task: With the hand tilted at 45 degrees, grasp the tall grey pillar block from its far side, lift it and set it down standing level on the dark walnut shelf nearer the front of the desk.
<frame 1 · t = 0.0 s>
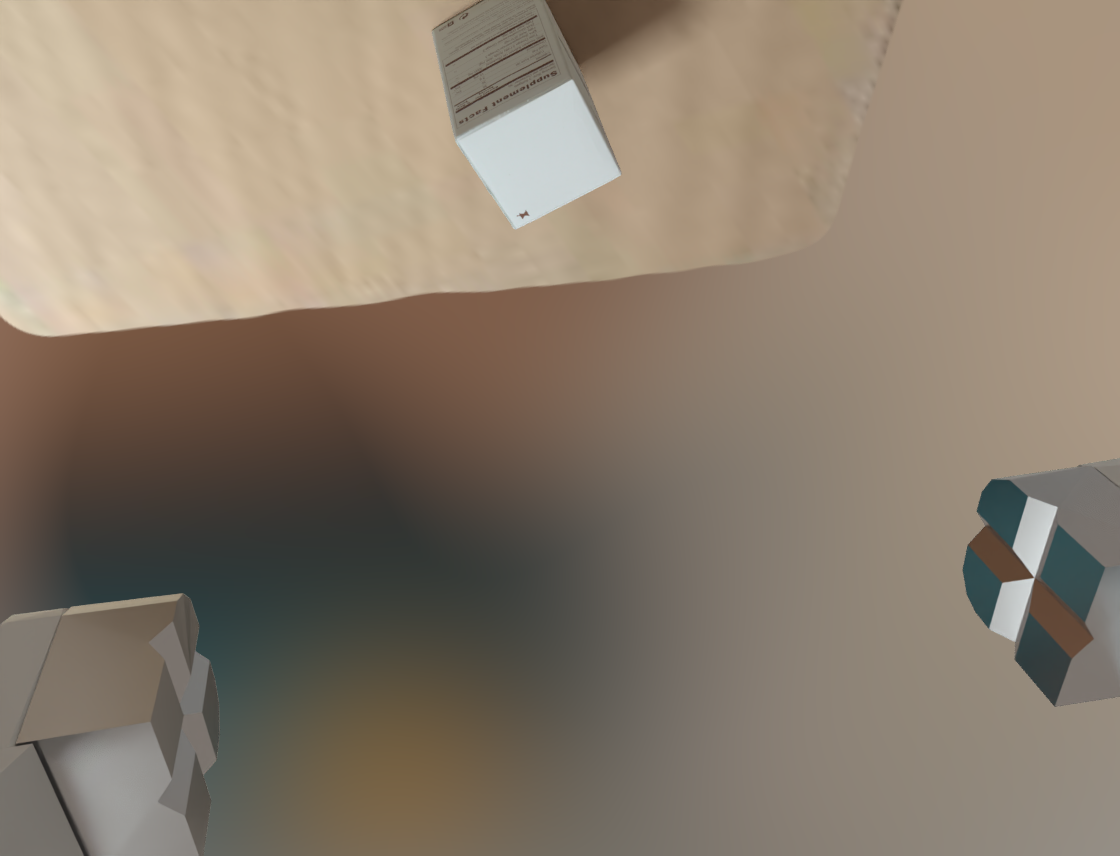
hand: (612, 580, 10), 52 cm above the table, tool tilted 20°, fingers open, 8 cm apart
supplement box: (506, 45, 60), on the table
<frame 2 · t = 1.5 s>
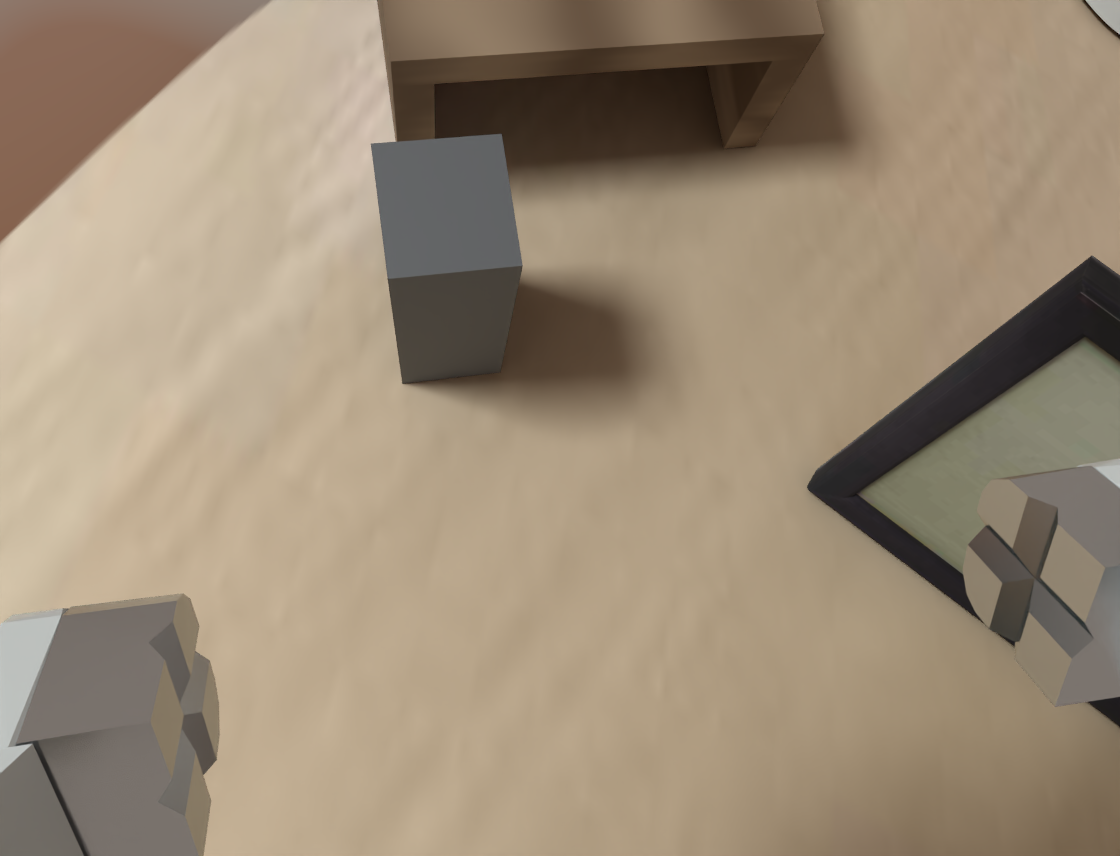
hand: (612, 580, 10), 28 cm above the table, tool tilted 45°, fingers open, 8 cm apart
tall grey pillar block: (444, 327, 39), on the table
walnut shelf: (563, 50, 43), on the table
picture frame: (1074, 576, 40), on the table
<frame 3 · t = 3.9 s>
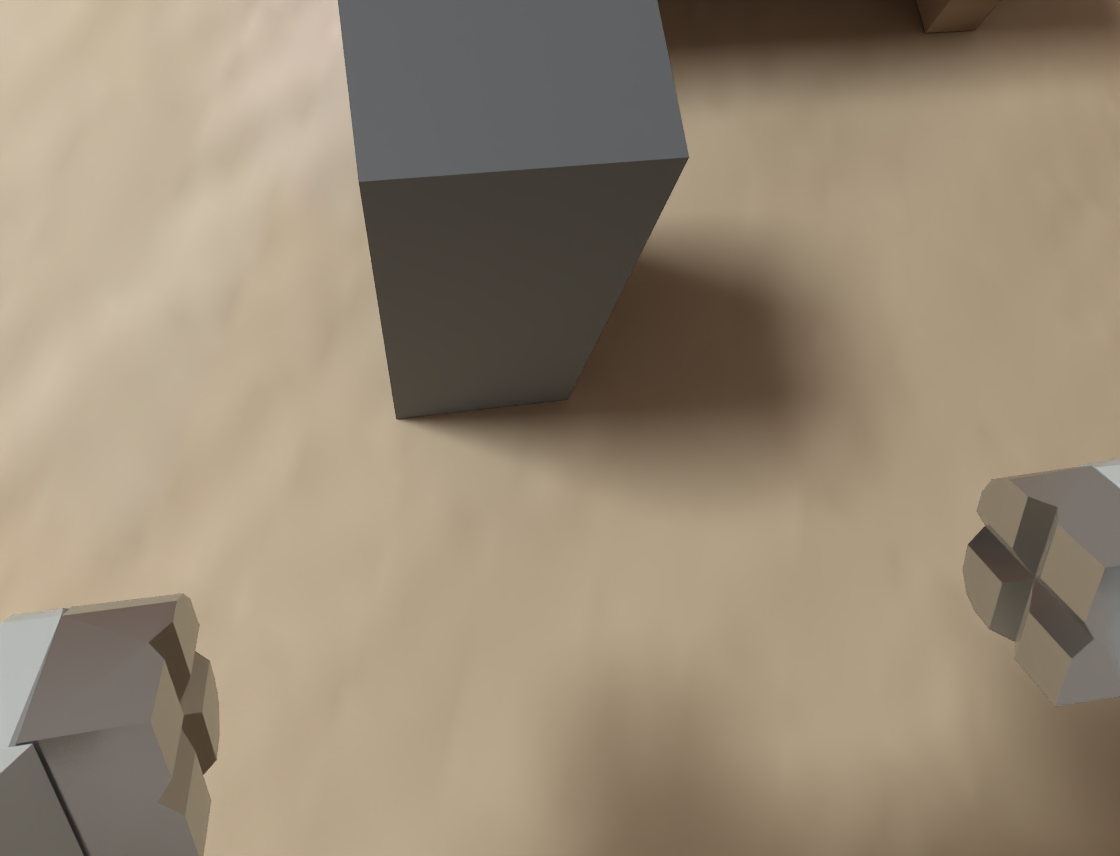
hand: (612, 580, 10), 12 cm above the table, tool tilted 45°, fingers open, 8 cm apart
tall grey pillar block: (470, 320, 22), on the table
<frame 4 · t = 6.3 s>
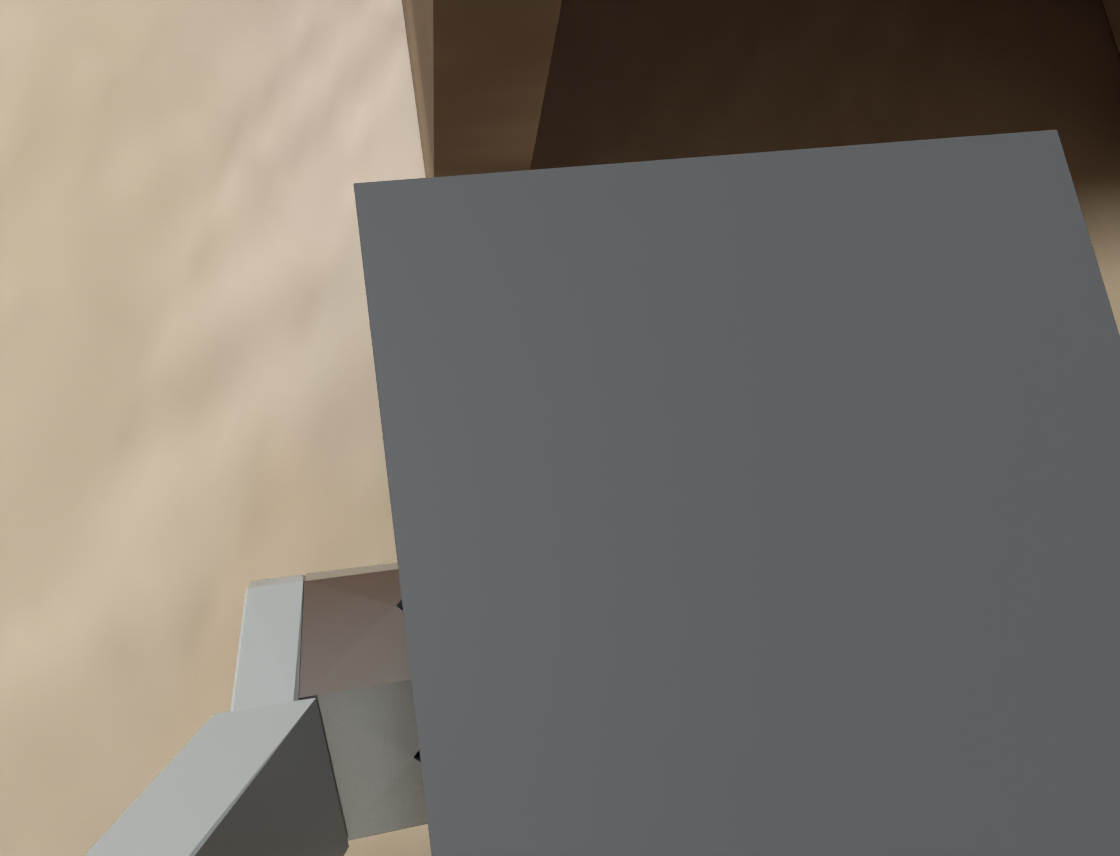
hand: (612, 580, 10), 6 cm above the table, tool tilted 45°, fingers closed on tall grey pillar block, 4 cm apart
tall grey pillar block: (550, 633, 15), on the table, touching gripper
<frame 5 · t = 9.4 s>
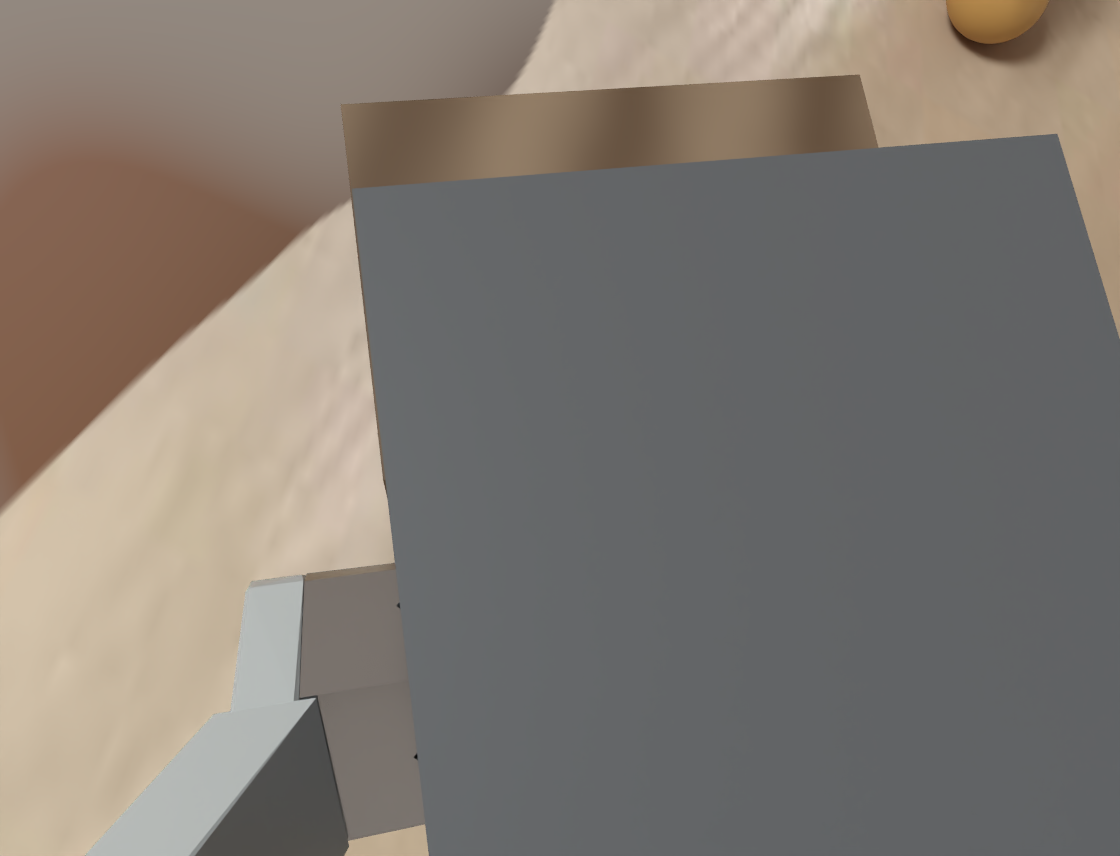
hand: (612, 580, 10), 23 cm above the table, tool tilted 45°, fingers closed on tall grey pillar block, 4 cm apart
tall grey pillar block: (549, 635, 15), point 17 cm above the table, touching gripper
walnut shelf: (596, 349, 35), on the table
figurine: (948, 16, 41), on the table
when the fingers open (15 cm above the table, at t = 12.5 s): tall grey pillar block drops 1 cm, resting on walnut shelf.
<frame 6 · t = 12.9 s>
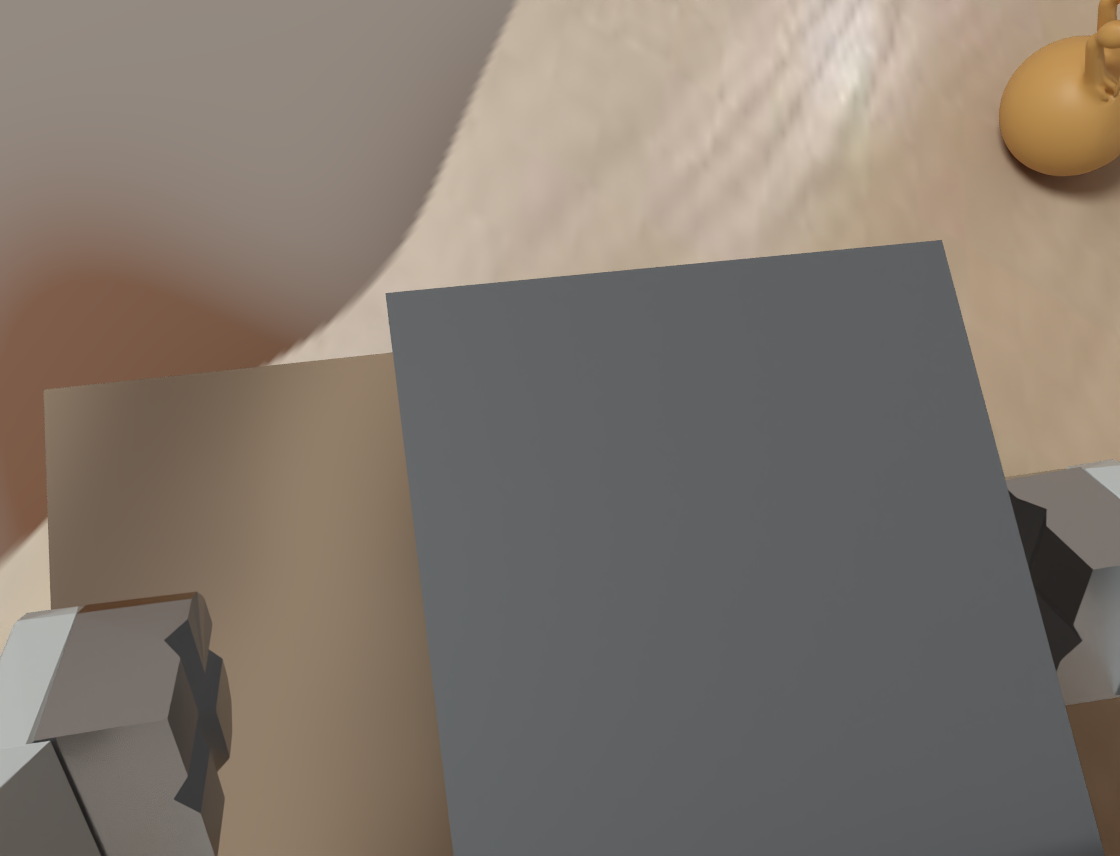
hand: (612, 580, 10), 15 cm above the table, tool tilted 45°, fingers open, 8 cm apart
tall grey pillar block: (545, 635, 17), point 8 cm above the table, touching walnut shelf
walnut shelf: (506, 645, 24), on the table
figurine: (999, 132, 30), on the table
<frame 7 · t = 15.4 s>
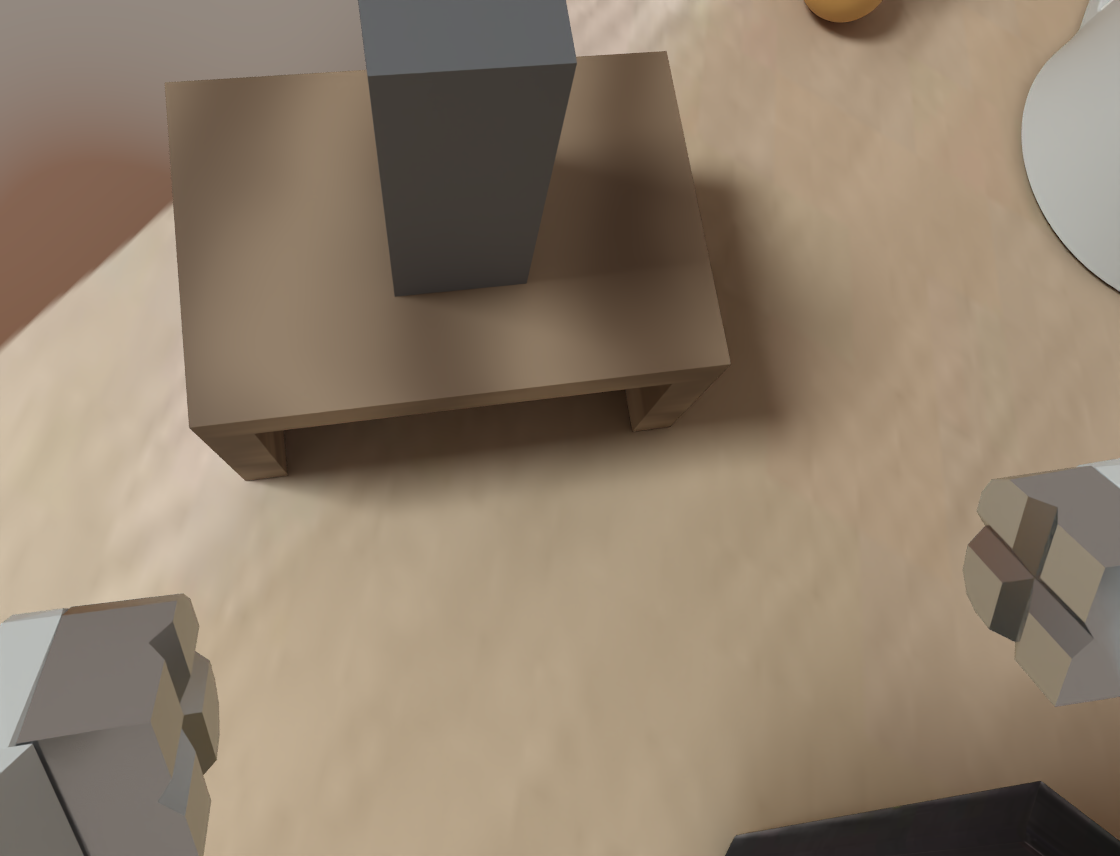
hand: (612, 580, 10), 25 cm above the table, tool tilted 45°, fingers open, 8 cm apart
tall grey pillar block: (451, 223, 29), point 8 cm above the table, touching walnut shelf
walnut shelf: (446, 315, 37), on the table
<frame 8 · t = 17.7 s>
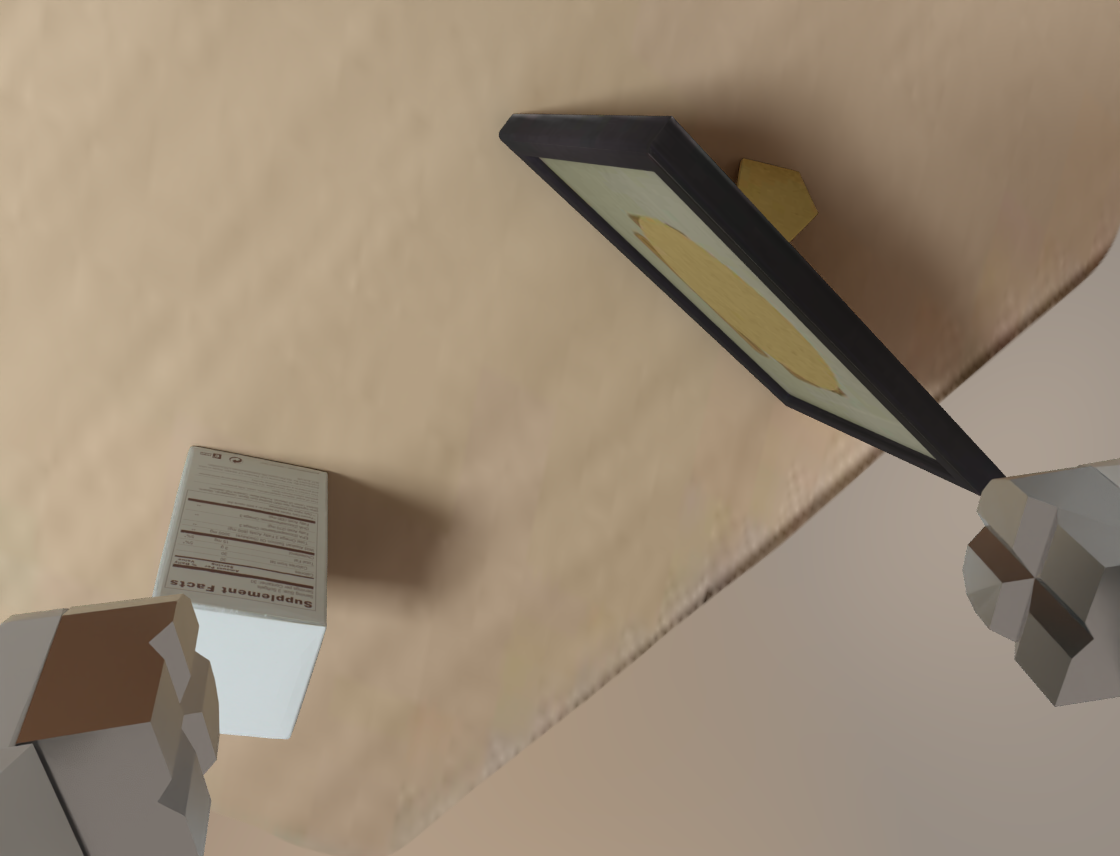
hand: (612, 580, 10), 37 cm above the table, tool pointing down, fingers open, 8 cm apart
supplement box: (248, 507, 52), on the table
picture frame: (717, 219, 49), on the table
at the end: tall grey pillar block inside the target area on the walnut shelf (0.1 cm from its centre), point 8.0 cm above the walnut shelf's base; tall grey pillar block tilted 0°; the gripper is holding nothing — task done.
